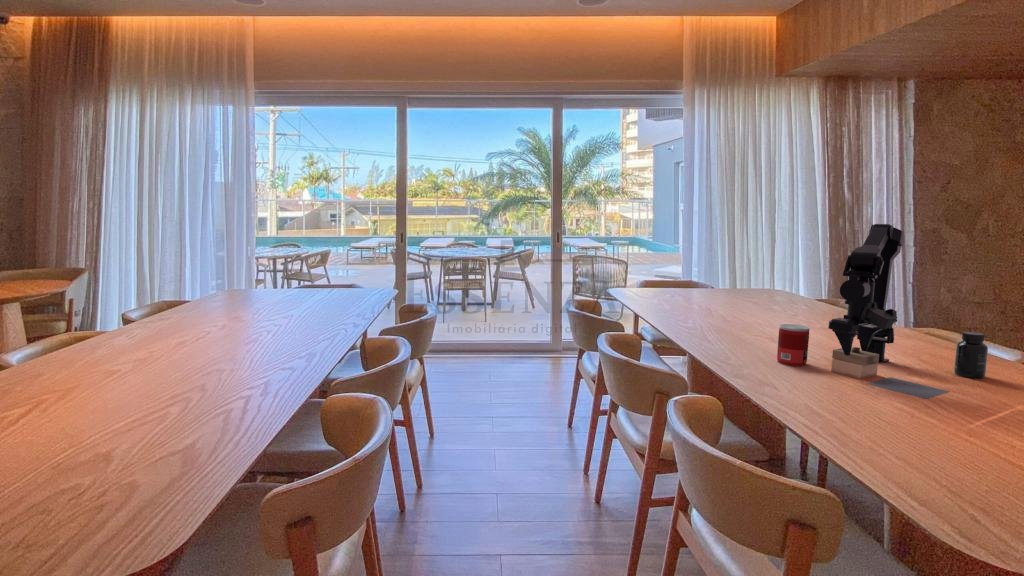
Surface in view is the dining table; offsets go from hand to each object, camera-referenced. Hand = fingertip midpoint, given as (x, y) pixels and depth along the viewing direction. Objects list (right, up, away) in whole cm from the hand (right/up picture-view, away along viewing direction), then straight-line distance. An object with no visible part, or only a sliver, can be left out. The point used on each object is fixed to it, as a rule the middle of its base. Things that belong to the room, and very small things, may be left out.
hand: (855, 353), depth 159 cm
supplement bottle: (+32, -7, +1) cm, 33 cm away
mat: (+6, -8, -12) cm, 15 cm away
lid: (0, -2, 0) cm, 2 cm away
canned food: (-12, -4, +12) cm, 18 cm away
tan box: (0, -6, +1) cm, 6 cm away
